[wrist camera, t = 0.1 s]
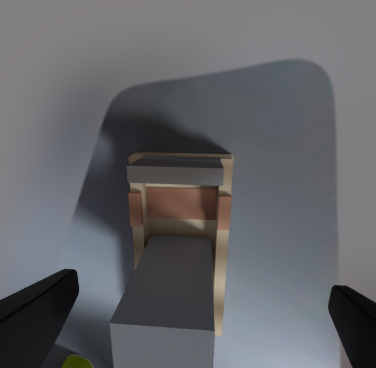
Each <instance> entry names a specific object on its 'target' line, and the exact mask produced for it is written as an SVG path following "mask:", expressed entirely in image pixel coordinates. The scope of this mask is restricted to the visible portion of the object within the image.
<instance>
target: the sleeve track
mask: <svg viewBox="0 0 376 368" xmlns="http://www.w3.org/2000/svg"><path fill="white" fill-rule="evenodd" d="M232 171H233V155H232V154H196V153H152V152H136V153H134V154H132V155H131V156H129V165H127V183H130V192H129V193H128V198H129V215H130V226H132V228H133V246H134V265H135V269H136V267H137V265H138V262H139V260H140V258H141V256H142V254H143V252H144V250H145V248H146V246H147V244H148V242H149V239H150V237H151V235H166V236H188V237H209V238H211V259H212V280H213V302H214V323H215V336H222V324H223V309H224V294H225V278H226V263H227V248H228V232H229V229H230V214H231V199H232V197H231V186H232Z"/></svg>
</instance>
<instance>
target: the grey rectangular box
mask: <svg viewBox="0 0 376 368" xmlns="http://www.w3.org/2000/svg"><path fill="white" fill-rule="evenodd" d="M110 334H111V344H112V355H113V366H114V368H213V356H214V338H215V323H214V302H213V280H212V259H211V238H209V237H188V236H166V235H151V237H150V239H149V242H148V244H147V246H146V248H145V250H144V252H143V254H142V256H141V258H140V260H139V262H138V265H137V267H136V269H135V271H134V273H133V275H132V277H131V279H130V281H129V283H128V286H127V288H126V290H125V292H124V294H123V296H122V298H121V300H120V302H119V304H118V307H117V309H116V311H115V313H114V315H113V317H112V319H111V321H110Z"/></svg>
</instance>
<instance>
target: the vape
mask: <svg viewBox="0 0 376 368" xmlns="http://www.w3.org/2000/svg"><path fill="white" fill-rule="evenodd" d="M61 368H94V366H93V364H92V362H91V361H90V360H89V359H87V358H86V357H84V356H81V355H77V354H71V355H69V356H68V357H67V358H66V360H65V362H64V364H63V365H62V367H61Z"/></svg>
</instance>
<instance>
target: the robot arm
mask: <svg viewBox="0 0 376 368" xmlns="http://www.w3.org/2000/svg"><path fill="white" fill-rule="evenodd" d="M78 293H79V283H78V276H77V272H76V270H74V269H63V270H61V271H59V272H57V273H55V274H53V275H51V276H49V277H47V278H45V279H43V280H41V281H39V282H36V283H34V284H32V285H30V286H28V287H26V288H24V289H22V290H20V291H18V292H16V293H14V294H12V295H10V296H8V297H6V298H4V299H2V300H0V368H40V366H41V365H42V363H43V361H44V360H45V358H46V356H47V355H48V353H49V351H50V350H51V348H52V346H53V345H54V343H55V341H56V339H57V337H58V336H59V334H60V332H61V330H62V328H63V325H64V323H65V321H66V319H67V317H68V315H69V313H70V311H71V309H72V307H73V305H74V303H75V300H76V298H77V296H78ZM328 310H329V313H330V316H331V318H332V321H333V323H334V325H335V328H336V330H337V333H338V335H339V337H340V340H341V342H342V345H343V347H344V349H345V352H346V354H347V356H348V359H349V361H350V363H351V365H352V367H353V368H376V303H375V302H374V301H372V300H370V299H368V298H367V297H365V296H363V295H362V294H360V293H358V292H357V291H355V290H353V289H351V288H350V287H348V286H342V285H334V286H333V287H332V289H331V294H330V299H329V303H328Z"/></svg>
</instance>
